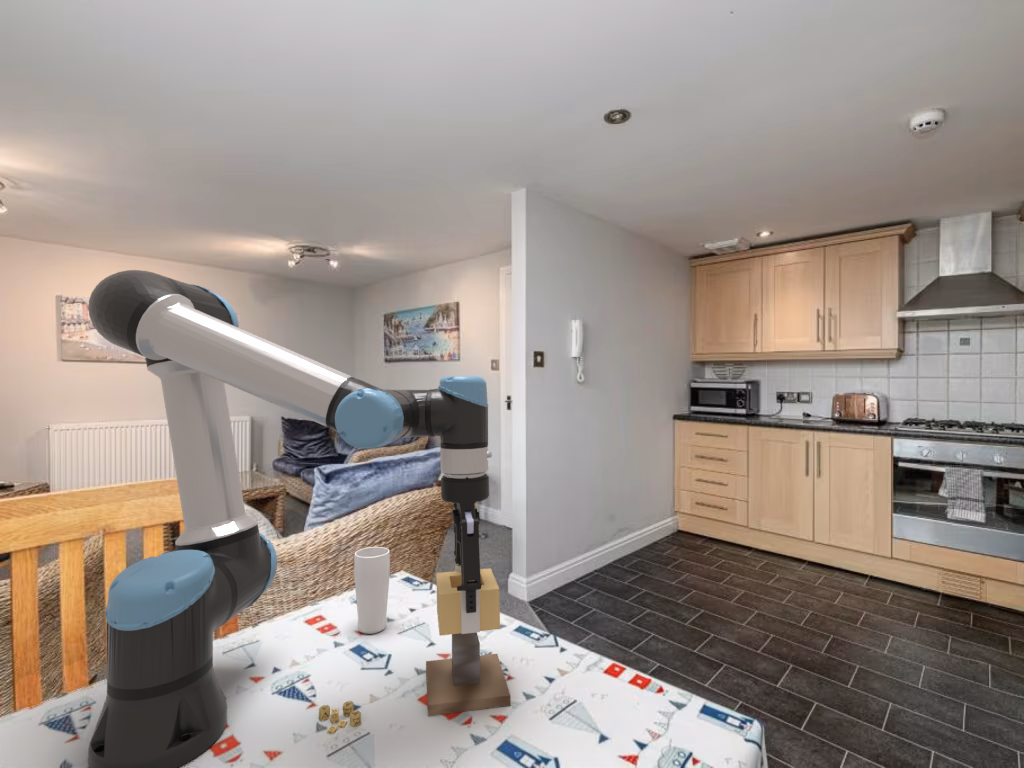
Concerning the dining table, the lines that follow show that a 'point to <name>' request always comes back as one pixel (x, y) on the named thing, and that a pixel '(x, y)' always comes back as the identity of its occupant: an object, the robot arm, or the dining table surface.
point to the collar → (452, 602)
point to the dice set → (347, 711)
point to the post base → (468, 692)
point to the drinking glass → (372, 588)
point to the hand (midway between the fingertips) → (467, 617)
